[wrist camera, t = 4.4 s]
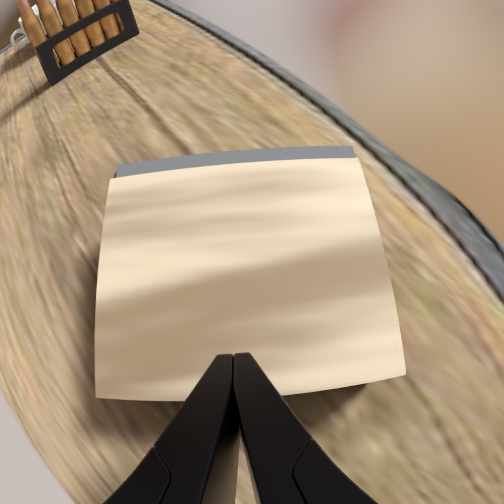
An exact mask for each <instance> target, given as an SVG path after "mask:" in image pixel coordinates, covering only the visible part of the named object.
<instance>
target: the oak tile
mask: <svg viewBox="0 0 504 504" xmlns="http://www.w3.org/2000/svg"><path fill="white" fill-rule="evenodd" d="M243 352H249V353H251V354H252V356H253V357H254V359H255V360H256V361H257V363H258V364H259V366H260V367H261V368H262V370H263V371H264V373H265V374H266V375H267V377H268V378H269V380H270V381H271V382H272V384H273V385H274V387H275V388H276V389H277V391H278V392H279V393H280V395H281V396H282V395H291V394H299V393H307V392H315V391H322V390H328V389H335V388H341V387H347V386H353V385H358V384H364V383H369V382H374V381H379V380H384V379H388V378H393V377H397V376H402V375H406V369H405V361H404V354H403V346H402V340H401V333H400V327H399V321H398V315H397V310H396V304H395V299H394V294H393V289H392V284H391V279H390V274H389V270H388V265H387V261H386V256H385V252H384V248H383V244H382V239H381V235H380V231H379V228H378V224H377V220H376V216H375V213H374V209H373V205H372V202H371V198H370V195H369V191H368V188H367V185H366V181H365V178H364V175H363V172H362V168H361V165H360V162H359V159H358V158H325V159H297V160H278V161H262V162H248V163H235V164H224V165H213V166H203V167H194V168H185V169H176V170H168V171H160V172H153V173H145V174H138V175H132V176H125V177H119V178H112V179H110V183H109V189H108V195H107V201H106V208H105V215H104V222H103V229H102V237H101V246H100V256H99V266H98V278H97V292H96V311H95V393H96V398H106V399H121V400H143V401H185V400H186V398H187V397H188V396H189V394H190V393H191V391H192V390H193V388H194V387H195V386H196V384H197V383H198V381H199V380H200V378H201V377H202V375H203V374H204V373H205V371H206V370H207V368H208V367H209V365H210V364H211V362H212V361H213V360H214V358H215V357H216V355H218V354H229V353H231V354H233V356H234V354H235V353H243Z"/></svg>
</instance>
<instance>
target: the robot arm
mask: <svg viewBox="0 0 504 504" xmlns="http://www.w3.org/2000/svg"><path fill="white" fill-rule="evenodd" d="M240 431H241V437H242V442H243V447H244V451H245V456H246V460H247V465H248V469H249V474H250V478H251V482H252V487H253V491H254V495H255V499H256V503H257V504H378V503H377V502H376V501H375V500H373V499H372V498H371V497H370V496H369V495H368V494H366V493H365V492H364V491H363V490H362V489H361V488H359V487H358V486H357V485H356V484H355V483H354V482H353V481H352V480H350V479H349V478H348V477H347V476H346V475H345V474H344V473H343V472H342V471H341V470H340V469H339V468H338V467H337V466H336V465H335V464H334V463H333V461H332V460H331V459H330V458H329V457H328V456H327V454H326V453H325V452H324V451H323V450H322V448H321V447H320V446H319V445H318V443H317V442H316V441H315V440H314V439H312V436H311V435H310V433H309V432H308V431H307V429H306V428H305V427H304V425H303V424H302V423H301V422H300V420H299V419H298V418H297V416H296V415H295V414H294V412H293V411H292V410H291V408H290V407H289V406H288V404H287V403H286V402H285V400H284V399H283V397H282V396H281V395H280V393H279V392H278V391H277V389H276V388H275V387H274V385H273V384H272V382H271V381H270V380H269V378H268V377H267V375H266V374H265V373H264V371H263V370H262V368H261V367H260V366H259V364H258V363H257V361H256V360H255V359H254V357H253V356H252V354H251V353H249V352H243V353H235V354H234V356H233V354H231V353H229V354H218V355H216V357H215V358H214V360H213V361H212V362H211V364H210V365H209V367H208V368H207V370H206V371H205V373H204V374H203V375H202V377H201V378H200V380H199V381H198V383H197V384H196V386H195V387H194V388H193V390H192V391H191V393H190V394H189V396H188V397H187V398H186V400H185V401H184V403H183V404H182V406H181V407H180V408H179V410H178V411H177V413H176V414H175V416H174V417H173V418H172V420H171V421H170V423H169V424H168V425H167V427H166V428H165V430H164V431H163V432H162V434H161V435H160V437H159V438H158V439H157V441H156V442H155V444H154V447H151V449H150V450H149V452H148V453H147V454H146V456H145V457H144V458H143V460H142V461H141V462H140V464H139V465H138V466H137V467H136V469H135V470H134V471H133V472H132V474H131V475H130V476H129V477H128V478H127V479H126V480H125V481H124V482H123V483H122V485H121V486H120V487H119V488H118V489H117V490H116V491H115V492H114V493H113V494H112V495H111V496H110V497H109V498H108V499H107V500H106V501H105V502H104V503H103V504H235V495H236V482H237V470H238V457H239V444H240Z"/></svg>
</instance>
